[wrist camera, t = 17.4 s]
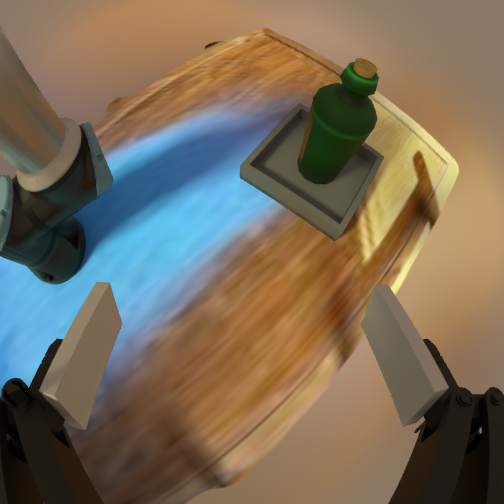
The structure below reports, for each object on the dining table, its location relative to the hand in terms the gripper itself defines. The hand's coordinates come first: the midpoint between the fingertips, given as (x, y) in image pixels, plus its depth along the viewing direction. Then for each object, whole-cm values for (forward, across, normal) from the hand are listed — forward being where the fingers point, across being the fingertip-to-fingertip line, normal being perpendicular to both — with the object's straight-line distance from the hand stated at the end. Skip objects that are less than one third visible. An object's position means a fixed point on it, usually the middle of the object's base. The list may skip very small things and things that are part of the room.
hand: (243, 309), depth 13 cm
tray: (+47, +16, -4) cm, 49 cm away
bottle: (+46, +16, -3) cm, 49 cm away
